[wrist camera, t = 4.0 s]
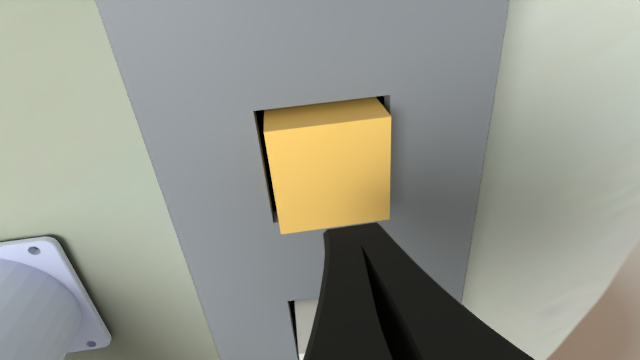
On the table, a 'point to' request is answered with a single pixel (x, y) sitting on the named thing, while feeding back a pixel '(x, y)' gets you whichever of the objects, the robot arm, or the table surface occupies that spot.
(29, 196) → the table surface
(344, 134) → the amber button
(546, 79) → the table surface
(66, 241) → the table surface
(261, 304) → the panel
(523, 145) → the table surface
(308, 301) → the block
